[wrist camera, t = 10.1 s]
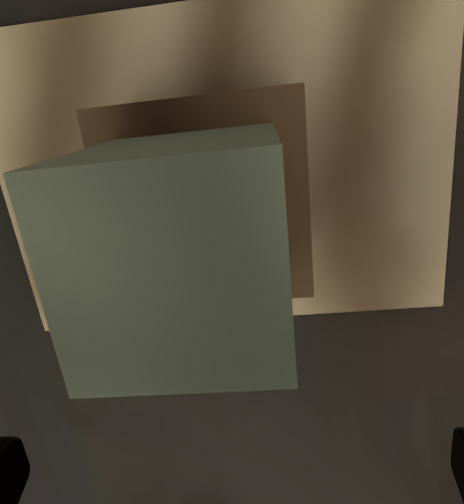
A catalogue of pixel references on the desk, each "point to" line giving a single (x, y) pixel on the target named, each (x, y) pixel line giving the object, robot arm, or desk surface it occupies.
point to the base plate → (344, 116)
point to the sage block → (163, 262)
